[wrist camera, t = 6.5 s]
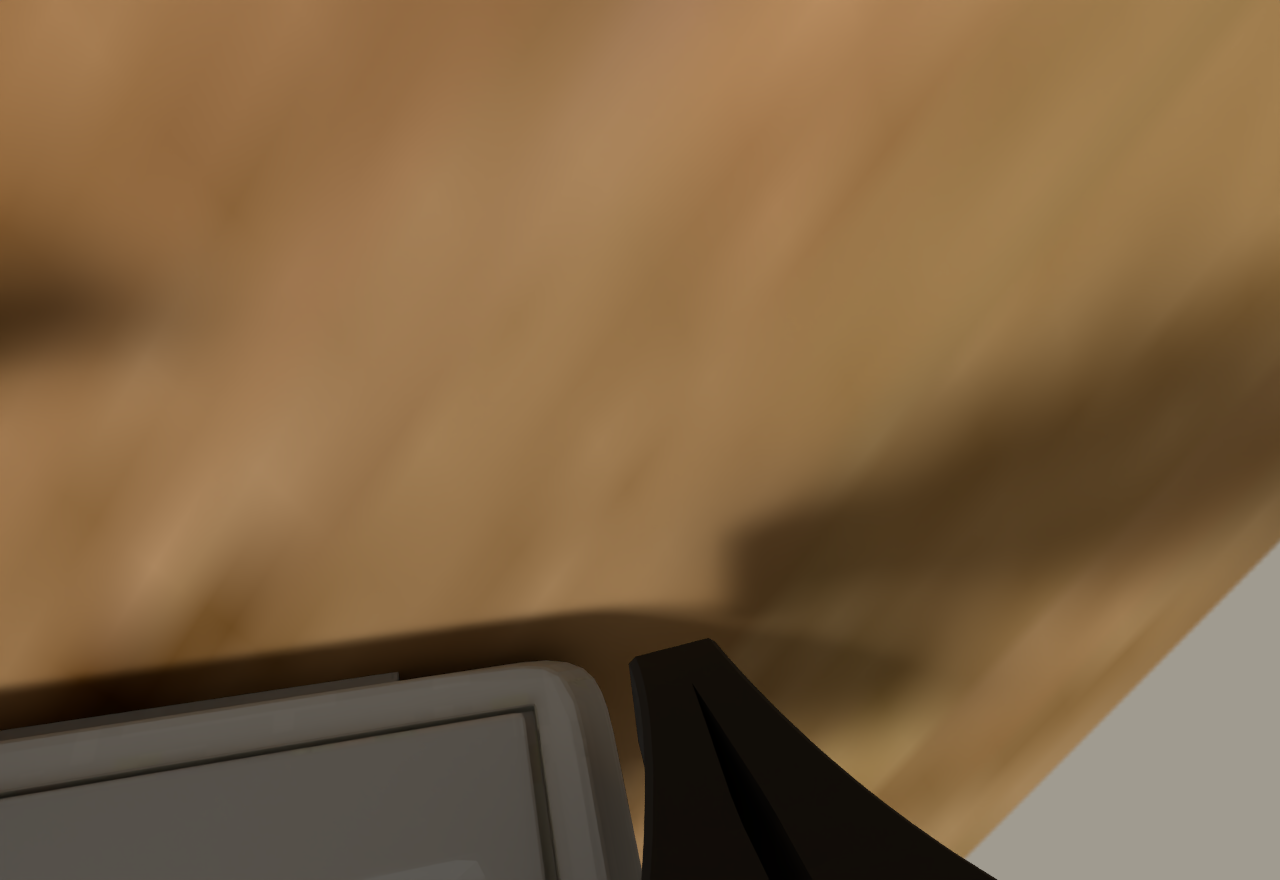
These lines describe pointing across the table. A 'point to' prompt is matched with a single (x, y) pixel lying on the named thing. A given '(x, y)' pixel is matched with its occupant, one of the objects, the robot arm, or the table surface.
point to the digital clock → (329, 785)
